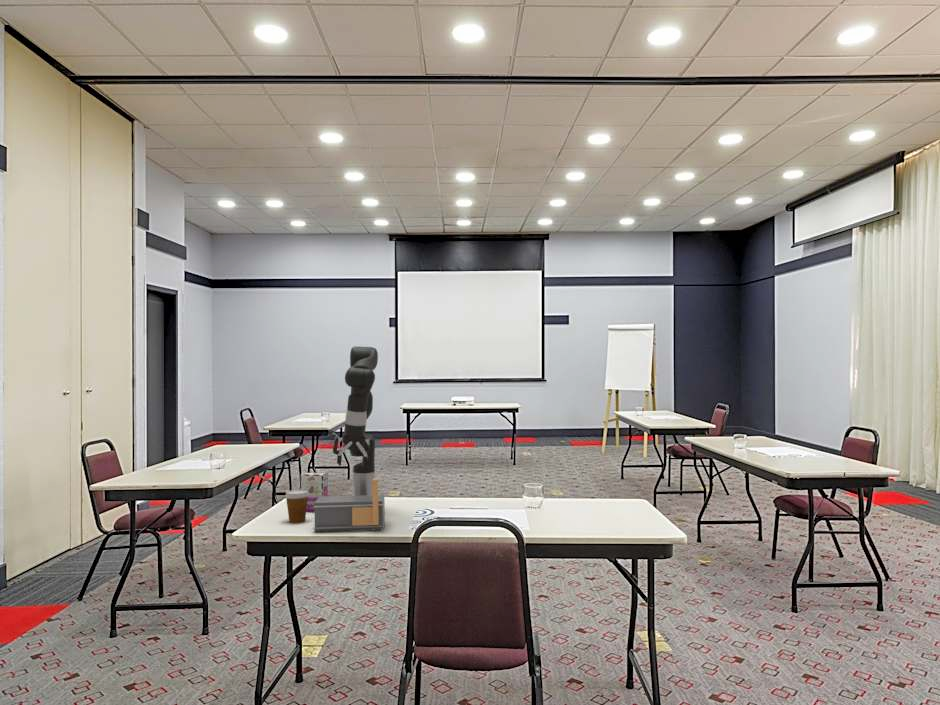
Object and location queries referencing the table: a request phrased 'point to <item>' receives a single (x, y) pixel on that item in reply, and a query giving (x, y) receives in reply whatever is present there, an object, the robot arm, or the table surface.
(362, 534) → the table surface
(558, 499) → the table surface
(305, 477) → the candy bar box
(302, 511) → the disposable coffee cup
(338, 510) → the case
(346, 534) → the table surface
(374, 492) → the side door
